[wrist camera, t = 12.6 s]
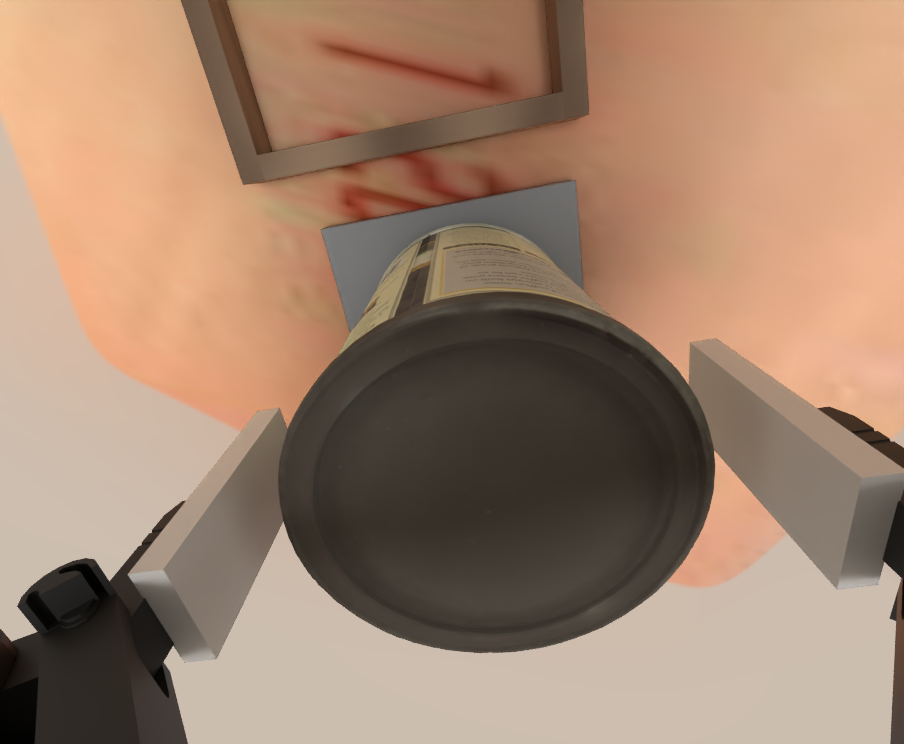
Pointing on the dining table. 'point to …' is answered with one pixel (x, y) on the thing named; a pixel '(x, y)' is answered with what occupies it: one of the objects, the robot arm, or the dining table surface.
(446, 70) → the dining table surface
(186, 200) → the dining table surface
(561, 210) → the mat
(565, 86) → the square picture frame
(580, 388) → the coffee can
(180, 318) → the dining table surface
